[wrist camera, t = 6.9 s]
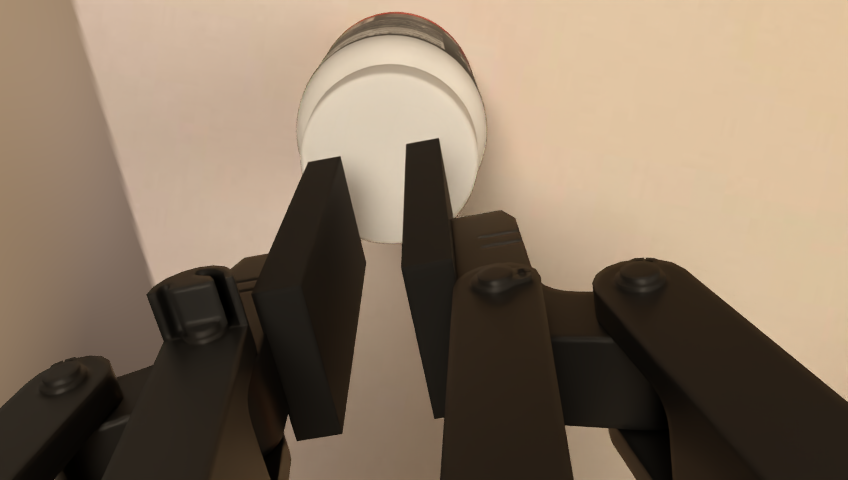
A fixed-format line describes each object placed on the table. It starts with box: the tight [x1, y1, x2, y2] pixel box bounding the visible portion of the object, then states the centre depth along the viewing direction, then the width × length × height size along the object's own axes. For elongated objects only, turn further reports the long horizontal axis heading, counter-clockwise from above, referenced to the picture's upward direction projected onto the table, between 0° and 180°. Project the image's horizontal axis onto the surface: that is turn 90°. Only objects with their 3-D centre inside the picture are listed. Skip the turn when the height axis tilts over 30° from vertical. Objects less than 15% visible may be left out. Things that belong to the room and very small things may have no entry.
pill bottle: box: [296, 12, 487, 244], centre depth 24 cm, size 6×6×10 cm
